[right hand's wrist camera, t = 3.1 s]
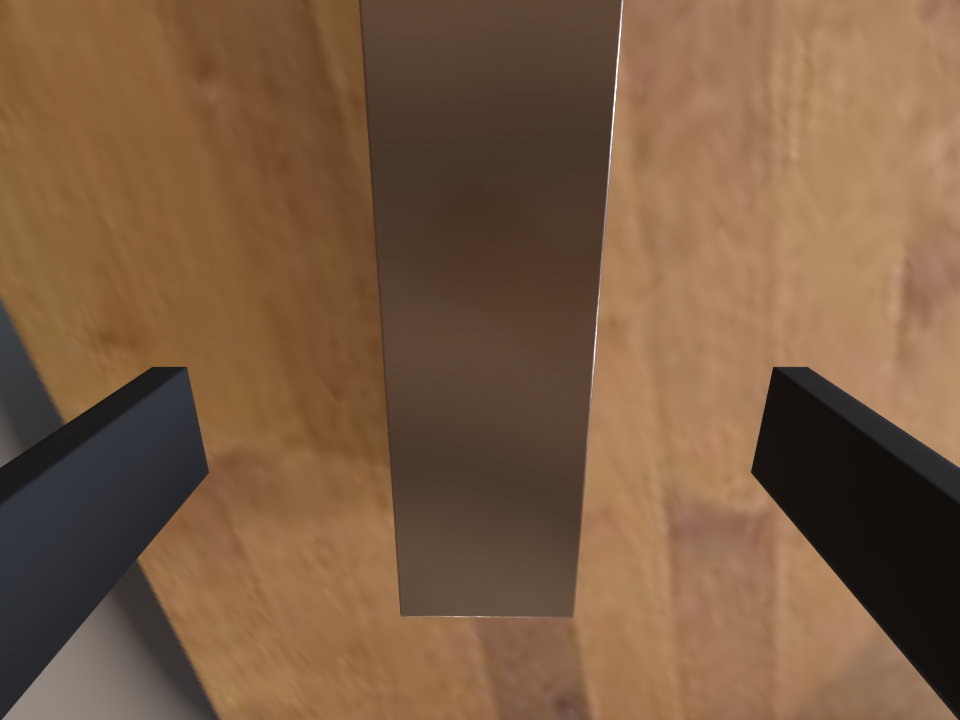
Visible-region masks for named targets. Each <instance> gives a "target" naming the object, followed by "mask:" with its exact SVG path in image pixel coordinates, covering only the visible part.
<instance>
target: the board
mask: <svg viewBox="0 0 960 720" xmlns="http://www.w3.org/2000/svg"><path fill="white" fill-rule="evenodd" d="M623 1H624V0H359V6H360V21H361V35H362V50H363V65H364V80H365V95H366V110H367V125H368V139H369V154H370V169H371V184H372V199H373V214H374V228H375V243H376V258H377V273H378V288H379V303H380V318H381V332H382V347H383V362H384V377H385V392H386V407H387V421H388V436H389V451H390V466H391V481H392V496H393V511H394V525H395V540H396V555H397V570H398V585H399V600H400V614H401V616H402V617H521V618H573V617H574V613H575V600H576V588H577V575H578V563H579V550H580V538H581V525H582V513H583V500H584V488H585V475H586V463H587V450H588V438H589V425H590V413H591V401H592V388H593V376H594V363H595V351H596V338H597V326H598V313H599V301H600V288H601V276H602V263H603V251H604V238H605V226H606V213H607V201H608V188H609V176H610V163H611V151H612V138H613V126H614V113H615V101H616V89H617V76H618V64H619V51H620V39H621V26H622V14H623Z"/></svg>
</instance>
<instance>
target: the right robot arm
mask: <svg viewBox="0 0 960 720" xmlns="http://www.w3.org/2000/svg"><path fill="white" fill-rule="evenodd" d="M208 473H209V470H208V466H207V461H206V456H205V451H204V447H203V442H202V437H201V432H200V428H199V423H198V418H197V413H196V409H195V404H194V399H193V394H192V390H191V385H190V380H189V375H188V371H187V367H152V368H150V369H149V370H147V371H146V372H144V373H143V374H141V375H140V376H138V377H137V378H135V379H134V380H132V381H131V382H129V383H128V384H126V385H125V386H123V387H122V388H120V389H119V390H117V391H116V392H114V393H113V394H111V395H110V396H108V397H107V398H105V399H103V400H102V401H100V402H99V403H97V404H96V405H94V406H93V407H91V408H90V409H88V410H87V411H85V412H84V413H82V414H81V415H79V416H78V417H76V418H75V419H73V420H72V421H70V422H69V423H67V424H66V425H64V426H63V427H61V428H60V429H58V430H57V431H55V432H54V433H52V434H51V435H49V436H48V437H46V438H45V439H43V440H42V441H40V442H39V443H37V444H36V445H34V446H33V447H31V448H30V449H28V450H27V451H25V452H24V453H22V454H21V455H19V456H18V457H16V458H15V459H13V460H12V461H10V462H9V463H7V464H6V465H4V466H3V467H1V468H0V720H2V719H3V717H4V716H5V715H6V714H7V713H8V711H9V710H10V709H11V708H12V707H13V705H14V704H15V703H16V702H17V701H18V700H19V698H20V697H21V696H22V695H23V694H24V692H25V691H26V690H27V689H28V688H29V686H30V685H31V684H32V683H33V682H34V680H35V679H36V678H37V677H38V676H39V675H40V673H41V672H42V671H43V670H44V669H45V667H46V666H47V665H48V664H49V663H50V661H51V660H52V659H53V658H54V657H55V655H56V654H57V653H58V652H59V651H60V650H61V648H62V647H63V646H64V645H65V644H66V642H67V641H68V640H69V639H70V638H71V636H72V635H73V634H74V633H75V632H76V630H77V629H78V628H79V627H80V626H81V625H82V623H83V622H84V621H85V620H86V618H87V617H88V616H89V615H90V614H91V613H92V611H93V610H94V609H95V608H96V607H97V605H98V604H99V603H100V602H101V601H102V599H103V598H104V597H105V596H106V595H107V594H108V592H109V591H110V590H111V589H112V588H113V586H114V585H115V584H116V583H117V582H118V580H119V579H120V578H121V577H122V576H123V574H124V573H125V572H126V571H127V570H128V569H129V567H130V566H131V565H132V564H133V563H134V561H135V560H136V559H137V558H138V557H139V555H140V554H141V553H142V552H143V551H144V549H145V548H146V547H147V546H148V545H149V543H150V542H151V541H152V540H153V539H154V538H155V536H156V535H157V534H158V533H159V532H160V530H161V529H162V528H163V527H164V526H165V524H166V523H167V522H168V521H169V520H170V518H171V517H172V516H173V515H174V514H175V513H176V511H177V510H178V509H179V508H180V507H181V505H182V504H183V503H184V502H185V501H186V499H187V498H188V497H189V496H190V495H191V493H192V492H193V491H194V490H195V489H196V487H197V486H198V485H199V484H200V483H201V482H202V480H203V479H204V478H205V477H206V476H207V474H208ZM751 473H752V474H753V476H754V477H755V478H756V479H757V480H758V482H759V483H760V484H761V485H762V486H763V487H764V489H765V490H766V491H767V492H768V493H769V495H770V496H771V497H772V498H773V499H774V501H775V502H776V503H777V504H778V505H779V507H780V508H781V509H782V510H783V511H784V513H785V514H786V515H787V516H788V517H789V518H790V520H791V521H792V522H793V523H794V524H795V526H796V527H797V528H798V529H799V530H800V532H801V533H802V534H803V535H804V536H805V538H806V539H807V540H808V541H809V542H810V543H811V545H812V546H813V547H814V548H815V549H816V551H817V552H818V553H819V554H820V555H821V557H822V558H823V559H824V560H825V561H826V563H827V564H828V565H829V566H830V567H831V569H832V570H833V571H834V572H835V573H836V574H837V576H838V577H839V578H840V579H841V580H842V582H843V583H844V584H845V585H846V586H847V588H848V589H849V590H850V591H851V592H852V594H853V595H854V596H855V597H856V598H857V599H858V601H859V602H860V603H861V604H862V605H863V607H864V608H865V609H866V610H867V611H868V613H869V614H870V615H871V616H872V617H873V619H874V620H875V621H876V622H877V623H878V625H879V626H880V627H881V628H882V629H883V630H884V632H885V633H886V634H887V635H888V636H889V638H890V639H891V640H892V641H893V642H894V644H895V645H896V646H897V647H898V648H899V650H900V651H901V652H902V653H903V654H904V655H905V657H906V658H907V659H908V660H909V661H910V663H911V664H912V665H913V666H914V667H915V669H916V670H917V671H918V672H919V673H920V675H921V676H922V677H923V678H924V679H925V681H926V682H927V683H928V684H929V685H930V686H931V688H932V689H933V690H934V691H935V692H936V694H937V695H938V696H939V697H940V698H941V700H942V701H943V702H944V703H945V704H946V706H947V707H948V708H949V709H950V710H951V712H952V713H953V714H954V715H955V716H956V717H957V719H958V720H960V468H959V467H957V466H956V465H954V464H953V463H951V462H950V461H948V460H947V459H945V458H944V457H942V456H941V455H939V454H938V453H936V452H935V451H933V450H932V449H930V448H929V447H927V446H926V445H924V444H923V443H921V442H920V441H918V440H917V439H915V438H914V437H912V436H911V435H909V434H908V433H906V432H905V431H903V430H902V429H900V428H899V427H897V426H896V425H894V424H893V423H891V422H890V421H888V420H887V419H885V418H884V417H882V416H881V415H879V414H878V413H876V412H875V411H873V410H872V409H870V408H869V407H867V406H866V405H864V404H863V403H861V402H860V401H858V400H857V399H855V398H853V397H852V396H850V395H849V394H847V393H846V392H844V391H843V390H841V389H840V388H838V387H837V386H835V385H834V384H832V383H831V382H829V381H828V380H826V379H825V378H823V377H822V376H820V375H819V374H817V373H816V372H814V371H813V370H811V369H810V368H808V367H773V371H772V375H771V380H770V385H769V390H768V394H767V399H766V404H765V409H764V413H763V418H762V423H761V428H760V432H759V437H758V442H757V447H756V451H755V456H754V461H753V466H752V470H751Z"/></svg>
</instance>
